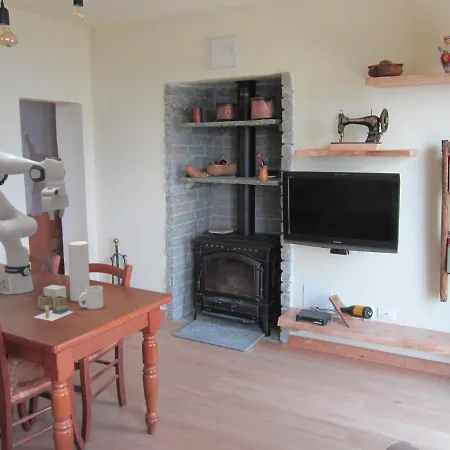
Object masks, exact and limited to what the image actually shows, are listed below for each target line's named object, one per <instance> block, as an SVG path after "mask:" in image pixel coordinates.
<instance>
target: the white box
mask: <svg viewBox="0 0 450 450" xmlns="http://www.w3.org/2000/svg"><path fill="white" fill-rule="evenodd" d="M43 295H49V296H52V298H54V297H56V296H65V297H67V286H64V285H57V284H50V285H48V286H45V287H43ZM52 306H53V301H52Z"/></svg>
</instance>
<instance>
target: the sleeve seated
mask: <svg viewBox="0 0 450 450" xmlns="http://www.w3.org/2000/svg"><path fill="white" fill-rule="evenodd" d="M52 301H53V305H52V307H53V308H52V309H51V310H52V313H57V314H62V313H64V312H67V311H69V308H68V302H67V301H68V300H67V296H66V297H65V296H56V297H54V298H52Z"/></svg>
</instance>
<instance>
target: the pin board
mask: <svg viewBox="0 0 450 450" xmlns="http://www.w3.org/2000/svg"><path fill="white" fill-rule="evenodd" d="M52 310H53V309H51V310H50V309H49V306H45V311H44V312H43V313H40V314H38V315H36V316H33V318H34V319H39V320H45V321H50V322H54V321H55V320H58V319H61V318H63V317H65V316H68V315H70V314H72V313H74V311H73V310H72V311H71V310H68V311H67V312H64V313H62V314H57V313H52Z"/></svg>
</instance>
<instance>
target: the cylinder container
mask: <svg viewBox="0 0 450 450" xmlns="http://www.w3.org/2000/svg"><path fill="white" fill-rule="evenodd" d="M67 246H68V271H69V293H70V295H69V297H70V299H69V300H70V301H73V302H79V297H80V295H81V294H82V293H84V292H85V288H86V287H89V286H90V264H89V262H90V260H89V258H90V257H89V242H88V241H84V240H83V241H81V240H80V241H71V242H68V245H67ZM81 301H82V302H83V301H85V296H83V297H82V300H81Z"/></svg>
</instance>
